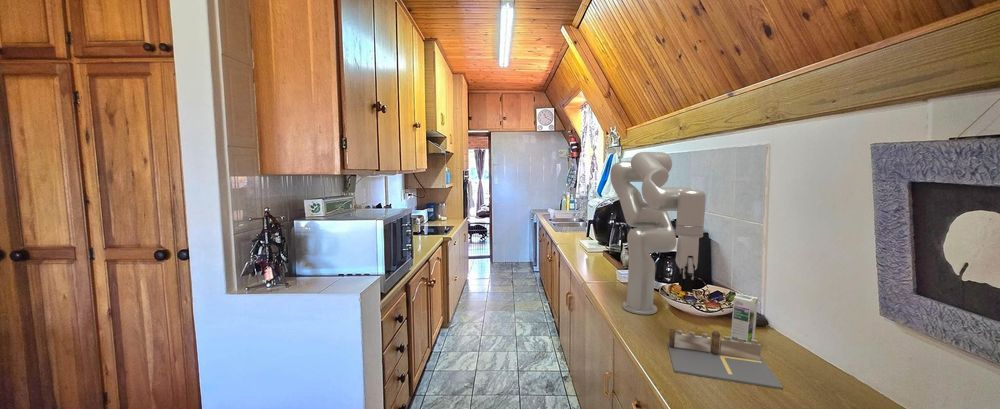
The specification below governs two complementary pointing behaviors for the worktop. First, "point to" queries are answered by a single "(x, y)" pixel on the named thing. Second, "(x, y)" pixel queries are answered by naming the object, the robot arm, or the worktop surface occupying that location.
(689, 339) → the fence gate
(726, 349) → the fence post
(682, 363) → the card
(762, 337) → the worktop surface
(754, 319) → the syrup box
